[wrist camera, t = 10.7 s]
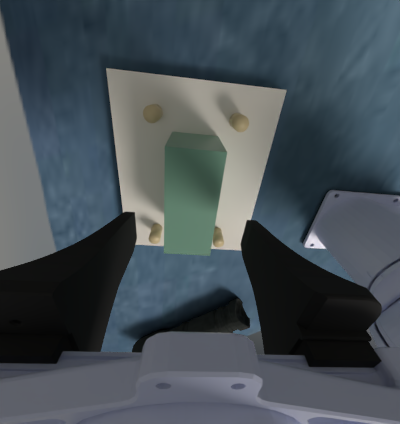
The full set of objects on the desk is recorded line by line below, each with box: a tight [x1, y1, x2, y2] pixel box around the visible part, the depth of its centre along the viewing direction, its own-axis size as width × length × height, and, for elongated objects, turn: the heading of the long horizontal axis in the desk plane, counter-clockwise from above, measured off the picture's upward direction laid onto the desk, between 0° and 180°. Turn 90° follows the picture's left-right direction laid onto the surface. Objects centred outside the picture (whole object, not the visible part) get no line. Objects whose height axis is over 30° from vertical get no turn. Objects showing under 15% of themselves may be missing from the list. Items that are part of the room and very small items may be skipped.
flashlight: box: [132, 298, 250, 353], centre depth 32 cm, size 5×21×5 cm, turn 125°
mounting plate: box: [106, 68, 287, 250], centre depth 19 cm, size 14×17×3 cm
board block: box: [164, 132, 227, 256], centre depth 17 cm, size 4×9×6 cm, turn 174°
